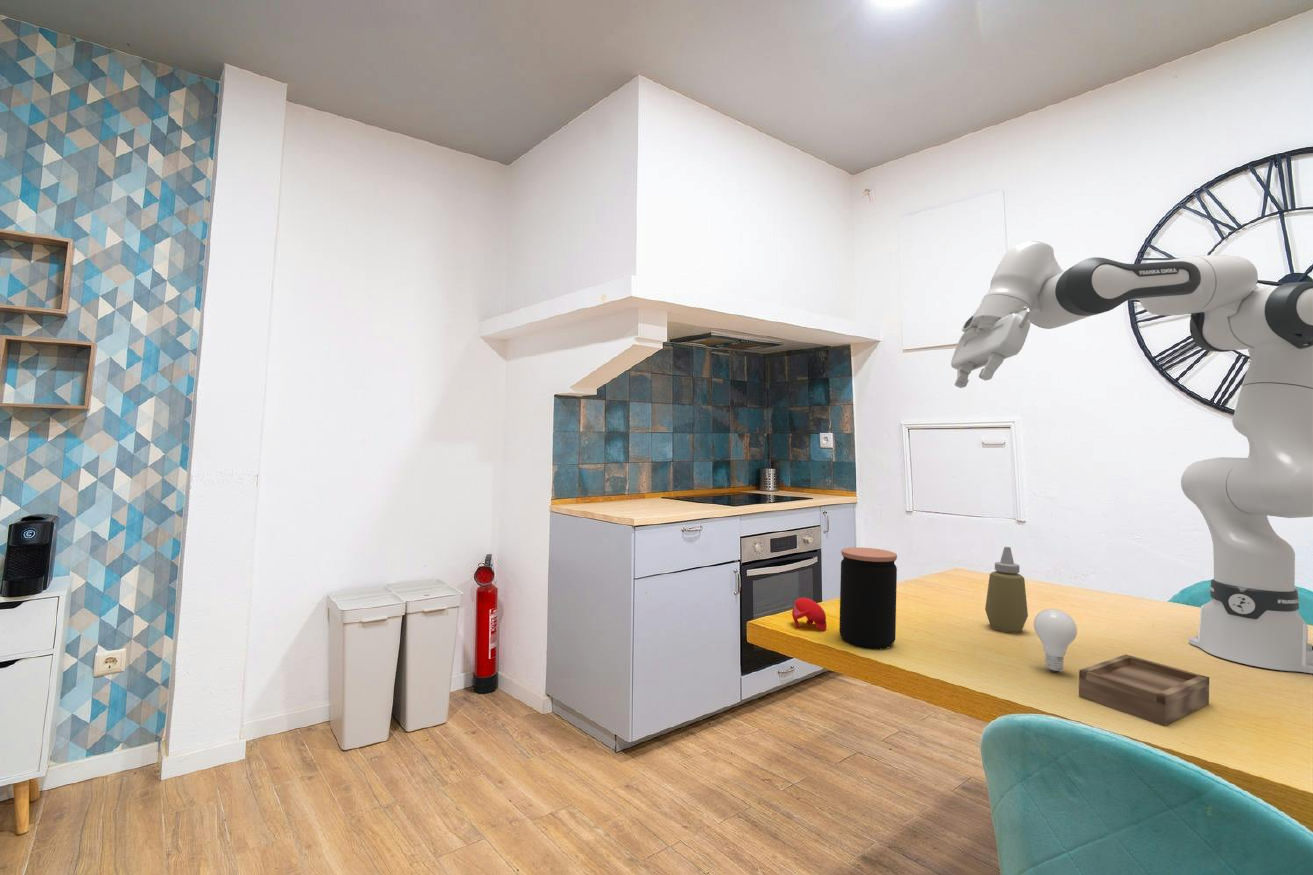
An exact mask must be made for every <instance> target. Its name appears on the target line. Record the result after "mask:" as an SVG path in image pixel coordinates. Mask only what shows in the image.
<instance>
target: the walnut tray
mask: <svg viewBox="0 0 1313 875" xmlns="http://www.w3.org/2000/svg"><path fill="white" fill-rule="evenodd" d="M1078 697H1079V698H1082V699H1084V700H1085V699H1086V700H1089V701H1091V702H1094V703H1097V704H1100V705H1103V706H1106V707H1109V708H1110V709H1111V708H1112V709H1114V710H1117V711H1121V712H1123V713H1126V714H1129V715H1131V716H1135V717H1138V718H1140V719H1143V720H1146V721H1150V722H1151V723H1155V724H1158V725H1161V726H1164V727H1165V726H1168V725H1169V724H1172V723H1174V722H1175V721H1178V720H1180V719H1181V718H1183V717H1186V716H1189V715H1190V714H1191V713H1194V712H1195V711H1198V710H1200V709H1202V708H1203V707H1205V706H1207V705H1209V704H1210V677H1209V676H1206V675H1202V674H1198V673H1195V672H1192V671H1188V670H1184V669H1180V668H1177V667H1173V666H1169V665H1166V664H1162V663H1159V662H1156V661H1151V660H1147V659H1145V658H1141V657H1138V656H1133V655H1130V654H1123V655H1120V656H1118V657H1114V658H1111V659H1108V660H1105V661H1102V662H1099V663H1096V664H1093V665H1089V666H1086V667H1083V668H1081V669H1079V670H1078Z"/></svg>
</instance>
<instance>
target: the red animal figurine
mask: <svg viewBox="0 0 1313 875" xmlns="http://www.w3.org/2000/svg"><path fill="white" fill-rule="evenodd" d="M791 612H792V613H791V615H792V619H793V622H794V626H795V627H796V628H797V629H798V628H800V623H799V621H798V620H799V619H802V618H804V617H806V618H807V620H806V621H805V623H806V625H809V624H813V623H814V625H815V626H816V628H817V629H818V630H819V631H820V632H822V633H824V632H825V631H826V630H827V615H826V612H825V610H824V609H823V607H821V605H820V604H819V603H817V602H816V601H814V600H812V599H810V598H807V597H799V598H797V599H796V600H795V602H794V606H793V608H792V611H791Z"/></svg>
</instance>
